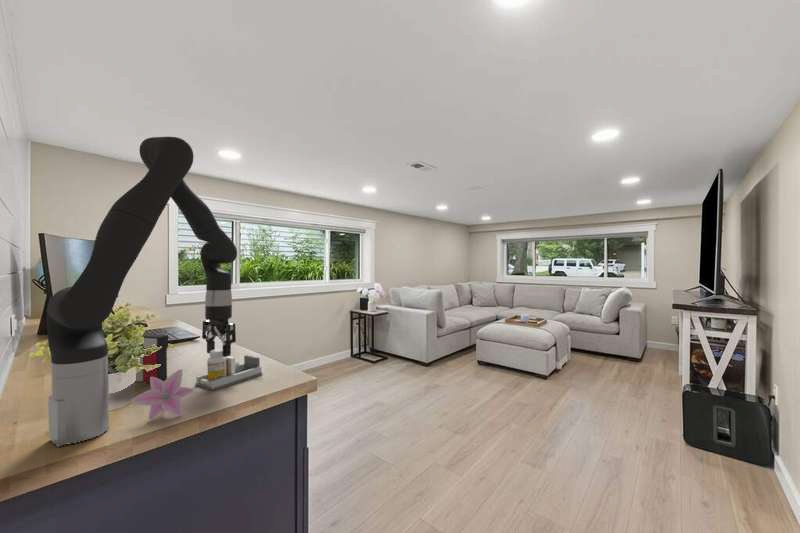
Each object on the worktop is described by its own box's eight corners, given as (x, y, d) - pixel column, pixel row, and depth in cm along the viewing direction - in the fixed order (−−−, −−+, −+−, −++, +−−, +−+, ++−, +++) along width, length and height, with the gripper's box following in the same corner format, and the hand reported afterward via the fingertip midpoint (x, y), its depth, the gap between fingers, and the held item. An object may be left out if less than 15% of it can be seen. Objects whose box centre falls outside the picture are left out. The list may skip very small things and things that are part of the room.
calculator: (129, 382, 109) (128, 335, 109) (142, 377, 113) (141, 333, 113) (156, 385, 106) (156, 337, 106) (169, 380, 111) (168, 334, 110)
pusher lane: (213, 390, 102) (213, 372, 102) (195, 384, 107) (195, 367, 107) (262, 374, 116) (262, 358, 116) (244, 369, 121) (244, 354, 121)
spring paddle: (231, 380, 108) (231, 358, 108) (219, 376, 112) (219, 355, 112) (243, 376, 112) (243, 355, 112) (231, 373, 115) (231, 352, 115)
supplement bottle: (215, 377, 111) (214, 348, 110) (230, 377, 110) (229, 348, 110) (204, 383, 105) (203, 352, 105) (220, 384, 105) (219, 353, 105)
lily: (123, 424, 83) (124, 396, 79) (156, 389, 94) (157, 363, 90) (174, 436, 85) (177, 409, 81) (200, 400, 95) (203, 375, 92)
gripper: (243, 304, 108) (243, 355, 108) (217, 301, 115) (216, 349, 115) (220, 306, 101) (220, 360, 101) (194, 303, 109) (194, 354, 109)
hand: (218, 354), depth 108 cm, fingers open, 8 cm apart
